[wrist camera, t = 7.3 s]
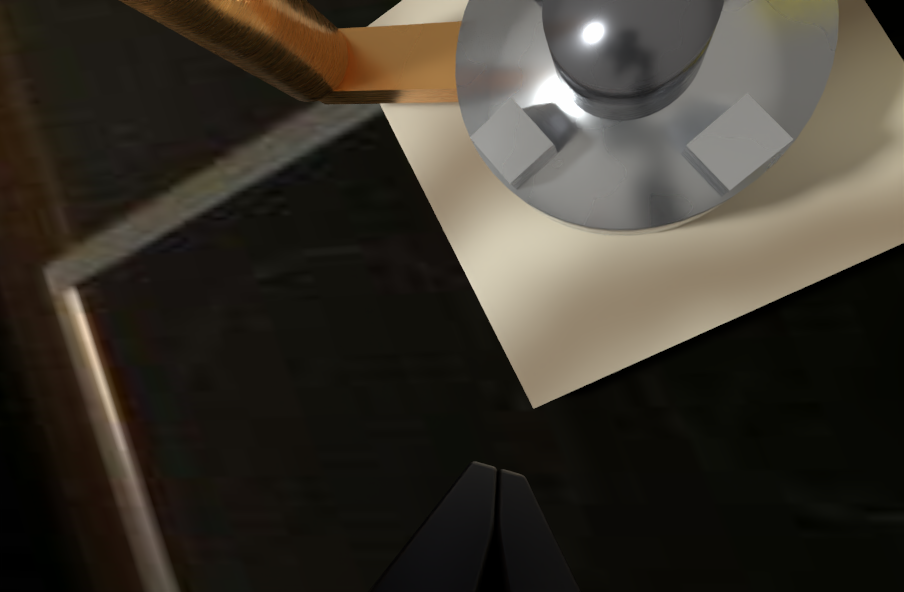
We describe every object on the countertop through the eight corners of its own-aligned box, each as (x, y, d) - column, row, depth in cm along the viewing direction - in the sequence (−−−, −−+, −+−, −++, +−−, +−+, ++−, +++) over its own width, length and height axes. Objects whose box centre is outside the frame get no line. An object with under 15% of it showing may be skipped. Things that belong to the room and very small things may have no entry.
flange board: (957, 209, 15) (993, 202, 13) (540, 398, 18) (533, 408, 17) (706, -189, 16) (715, -234, 15) (367, 57, 20) (348, 41, 19)
